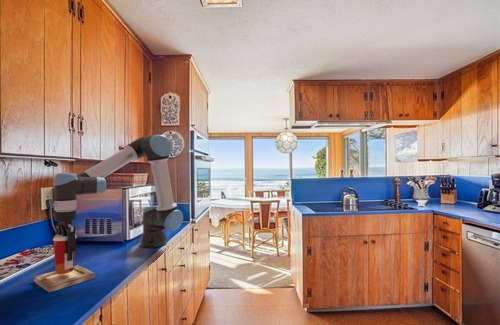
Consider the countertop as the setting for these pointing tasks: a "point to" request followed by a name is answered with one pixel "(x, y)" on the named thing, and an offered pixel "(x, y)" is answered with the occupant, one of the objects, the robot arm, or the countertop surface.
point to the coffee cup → (61, 254)
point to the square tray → (63, 278)
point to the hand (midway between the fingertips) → (64, 266)
